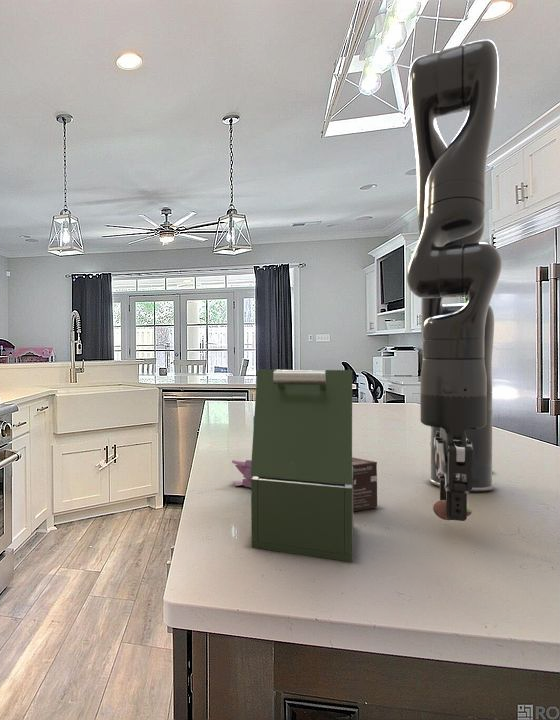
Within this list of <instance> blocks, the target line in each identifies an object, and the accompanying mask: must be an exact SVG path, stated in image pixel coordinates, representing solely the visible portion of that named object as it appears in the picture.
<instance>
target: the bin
mask: <svg viewBox="0 0 560 720" xmlns="http://www.w3.org/2000/svg"><path fill="white" fill-rule="evenodd" d="M250 500H251V501H250V504H251V505H250V507H251V508H250V512H251V516H250V517H251V518H250V519H251V520H250V522H251V530H250V531H251V548H254V549H262V550H267V551H275V552H281V553H282V552H283V553H287V554H288V553H289V554H293V555H294V554H295V555H302V556H308V557H315V558H322V559H329V560H335V561H342V562H349V563H352V562H353V554H354V553H353V551H354V550H353V548H354V511H353V466H352V485H343V484H332V483H321V482H310V481H299V480H288V479H277V478H266V477H255V476H254V477H253V478H252V479H251V488H250Z"/></svg>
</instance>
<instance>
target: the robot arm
mask: <svg viewBox="0 0 560 720" xmlns="http://www.w3.org/2000/svg"><path fill="white" fill-rule="evenodd" d="M498 54H499V53H498V50H497V46H496V45H495V43H494V41H492V40H490V39H481V40H475V41H472V42H467V43H465V44H461V45H457V46H453V47H449V48H446V49H442V50H439V51H438V50H437V51H436V52H432V53H428V54H425V55H422V56H419V57H417V58H415V59H414V61H413V62H412V63H411V66H410V69H409V74H408V97H409V107H410V114H411V124H412V125H411V126H412V133H413V142H414V152H415V160H416V161H415V164H416V190H417V191H416V202H417V203H416V210H417V212H416V213H417V231H418V232H417V233H418V241H417V244H416V246H415V247H414V251H413V253H412V256H411V258H410V261H409V263H408V267H407V272H406V282H407V286H408V288H409V290H410V291H411V293H412V294H413V295H414V296H416V297H418V298H421V307H420V309H421V312H420V326H421V327H420V332H421V333H420V334H421V341H422V342H421V343H422V360H421V361H422V363H421V367H420V368H421V369H420V381H419V383H420V394H419V395H420V423H421V424H422V425H424V426H427V427H430V476H429V477H430V478H429V483H430V484H432V485H434V486H436V487H439V501H440V500H446V516H447V518H448V519H450V520H449V521H457V522H465V521H467V518H468V516H467V508H468V494H469V492H470V493H471V492H475V493H476V492H477V493H479V492H489V491H492V490H493V488H494V484H493V374H492V373H493V352H494V351H493V349H494V336H495V315H494V314H495V313H494V310H493V308H492V306H491V305H490V304H491V300H492V298H493V295H494V293H495V292H494V291H495V289H496V287H497V284H498V282H499V278H500V276H501V272H502V268H503V267H502V265H503V262H502V261H503V260H502V256H501V254H500V252H499V251H498V249H497V248H496V247H495V246H494V245H493V244H491V243H488V242H480V241H481V239H482V237H483V235H484V231H485V217H486V216H485V213H486V212H485V211H486V207H485V206H486V204H485V203H486V167H487V158H488V153H489V148H490V144H491V143H490V142H491V138H492V132H493V127H494V119H495V111H496V104H497V98H498V97H497V96H498V87H499V55H498ZM464 111H465V112H467V111H468V113H467V116H466V118H465V121H464V123H463V124H462V126H461V128H460V129H459V131H458V132H457V134H456V135H455V136H454V138H452V141H450V143H449V145H448V146H447V144H446V143H445V141H444V139H443V137H442V134H441V133H440V130H439V128H438V127H439V126H438V125H437V119H436V118H439V117H443V116H449V115H453V114H458V113H462V112H464ZM460 297H468V298H467V301H466V302H462V303H461V302H458V303H442V301H443V299H444V298H460Z"/></svg>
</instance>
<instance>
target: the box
mask: <svg viewBox="0 0 560 720" xmlns="http://www.w3.org/2000/svg"><path fill="white" fill-rule="evenodd" d="M352 466H353V512H358V511H365V510H369V509H375V508H377V507H378V469H377V468H378V462H377V461H374V460H369V459H363V458H357V457H353V456H352Z"/></svg>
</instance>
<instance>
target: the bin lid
mask: <svg viewBox="0 0 560 720" xmlns="http://www.w3.org/2000/svg"><path fill="white" fill-rule="evenodd" d="M253 413H254V415H253V417H254V424H253V431H252V432H253V433H252V445H251V447H252V448H251V460H252V461H251V476H255V477H266V478H277V479H288V480H299V481H310V482H321V483H332V484H343V485H352V457H353V370H352V369H257V370H256V383H255V399H254V412H253Z"/></svg>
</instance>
